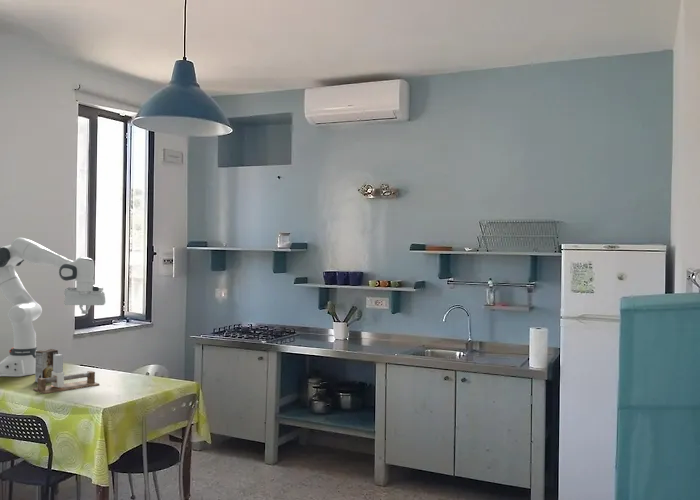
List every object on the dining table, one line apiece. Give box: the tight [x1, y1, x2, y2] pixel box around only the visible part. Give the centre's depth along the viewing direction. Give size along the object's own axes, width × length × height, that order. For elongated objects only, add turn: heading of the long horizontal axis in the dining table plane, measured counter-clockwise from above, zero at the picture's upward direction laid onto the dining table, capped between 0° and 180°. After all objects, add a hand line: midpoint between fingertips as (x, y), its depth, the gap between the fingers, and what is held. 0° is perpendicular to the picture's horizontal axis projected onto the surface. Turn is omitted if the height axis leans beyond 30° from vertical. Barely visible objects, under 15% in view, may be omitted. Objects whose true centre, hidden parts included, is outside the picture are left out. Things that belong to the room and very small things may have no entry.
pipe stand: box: [32, 370, 100, 395], centre depth 322 cm, size 28×12×6 cm, turn 139°
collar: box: [51, 353, 65, 388], centre depth 319 cm, size 3×7×16 cm, turn 49°
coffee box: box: [34, 348, 59, 383], centre depth 336 cm, size 9×6×16 cm
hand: (84, 313), depth 341 cm, fingers closed
